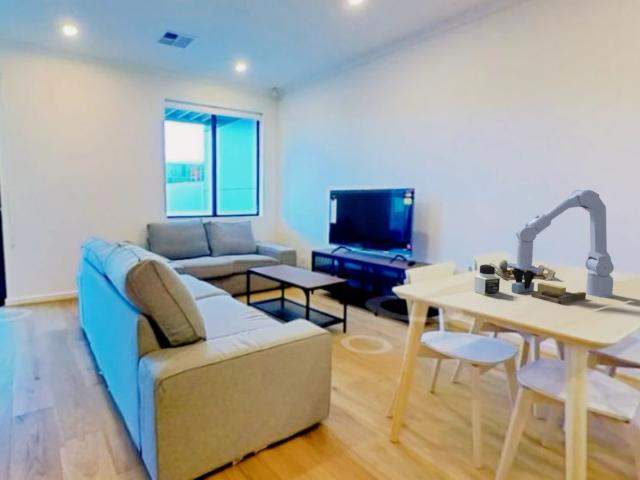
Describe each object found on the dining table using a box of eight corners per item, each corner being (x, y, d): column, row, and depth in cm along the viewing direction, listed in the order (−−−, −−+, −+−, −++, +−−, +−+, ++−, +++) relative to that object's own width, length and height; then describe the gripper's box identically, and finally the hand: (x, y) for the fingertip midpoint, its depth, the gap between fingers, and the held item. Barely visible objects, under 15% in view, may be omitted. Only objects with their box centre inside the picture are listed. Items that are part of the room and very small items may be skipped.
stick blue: (527, 288, 169) (527, 280, 168) (533, 290, 166) (534, 282, 166) (511, 291, 165) (511, 283, 164) (517, 293, 162) (518, 285, 161)
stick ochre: (537, 291, 165) (537, 283, 165) (541, 290, 167) (542, 282, 166) (560, 297, 157) (561, 288, 156) (565, 296, 158) (566, 287, 157)
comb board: (531, 298, 157) (531, 289, 157) (555, 293, 164) (555, 285, 164) (560, 306, 147) (561, 297, 146) (585, 300, 154) (585, 292, 153)
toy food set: (500, 280, 189) (500, 265, 188) (489, 272, 207) (489, 258, 206) (555, 281, 186) (557, 265, 185) (539, 273, 204) (540, 259, 203)
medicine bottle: (484, 295, 161) (486, 267, 160) (473, 291, 168) (474, 264, 167) (499, 294, 163) (500, 266, 162) (487, 290, 170) (488, 263, 169)
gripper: (503, 254, 168) (501, 284, 170) (534, 259, 155) (532, 292, 157) (514, 252, 171) (512, 282, 173) (546, 257, 158) (544, 290, 160)
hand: (523, 287), depth 165 cm, fingers closed on stick blue, 3 cm apart
